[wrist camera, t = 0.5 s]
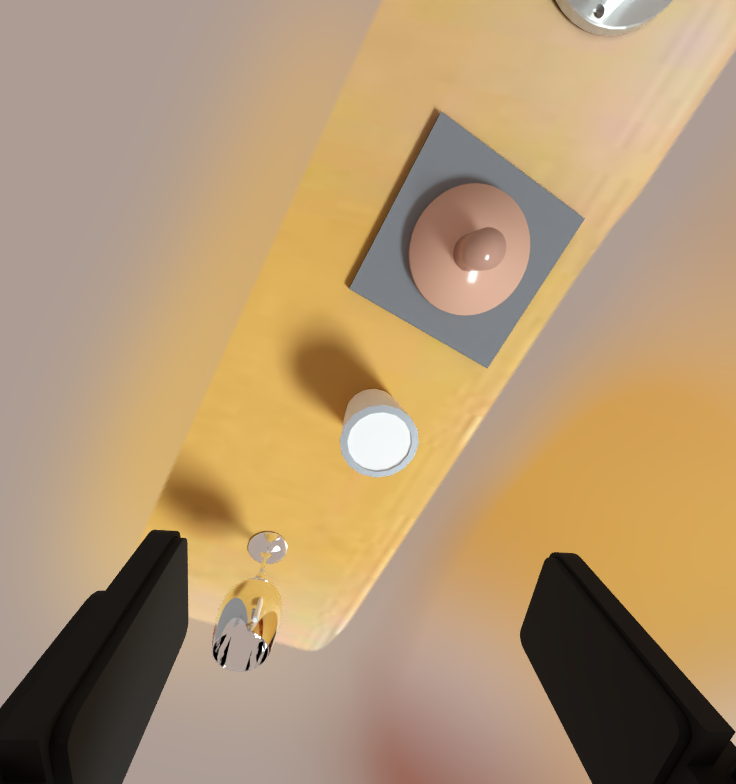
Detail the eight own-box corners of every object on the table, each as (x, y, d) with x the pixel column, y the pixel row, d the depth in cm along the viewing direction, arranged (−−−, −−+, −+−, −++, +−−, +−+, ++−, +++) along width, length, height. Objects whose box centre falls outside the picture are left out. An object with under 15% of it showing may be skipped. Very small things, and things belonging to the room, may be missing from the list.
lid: (516, 171, 30) (546, 153, 26) (530, 297, 34) (559, 299, 30) (395, 205, 30) (405, 192, 26) (421, 327, 34) (434, 334, 30)
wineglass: (232, 551, 40) (190, 658, 29) (262, 518, 39) (232, 614, 28) (272, 575, 42) (248, 685, 30) (303, 544, 41) (290, 645, 29)
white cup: (394, 374, 36) (407, 394, 29) (411, 432, 38) (427, 464, 31) (330, 394, 36) (328, 419, 29) (351, 451, 38) (354, 487, 31)
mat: (439, 114, 29) (441, 111, 29) (580, 219, 33) (584, 218, 32) (348, 288, 33) (349, 288, 32) (485, 367, 36) (487, 368, 36)
